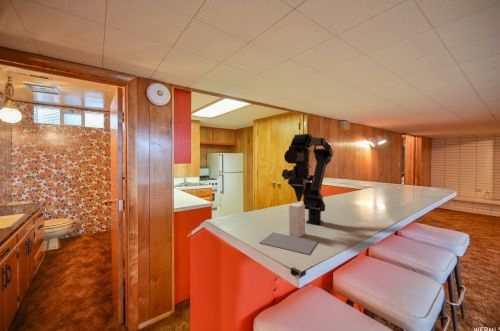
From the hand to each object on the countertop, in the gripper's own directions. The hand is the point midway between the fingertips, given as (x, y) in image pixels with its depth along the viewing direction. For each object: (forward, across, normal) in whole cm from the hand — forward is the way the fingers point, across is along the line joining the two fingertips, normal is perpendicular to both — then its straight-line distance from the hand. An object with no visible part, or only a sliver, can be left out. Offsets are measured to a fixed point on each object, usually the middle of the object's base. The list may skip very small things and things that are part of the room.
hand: (302, 199), depth 89 cm
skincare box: (+13, +7, 0) cm, 15 cm away
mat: (+13, +16, 0) cm, 21 cm away
